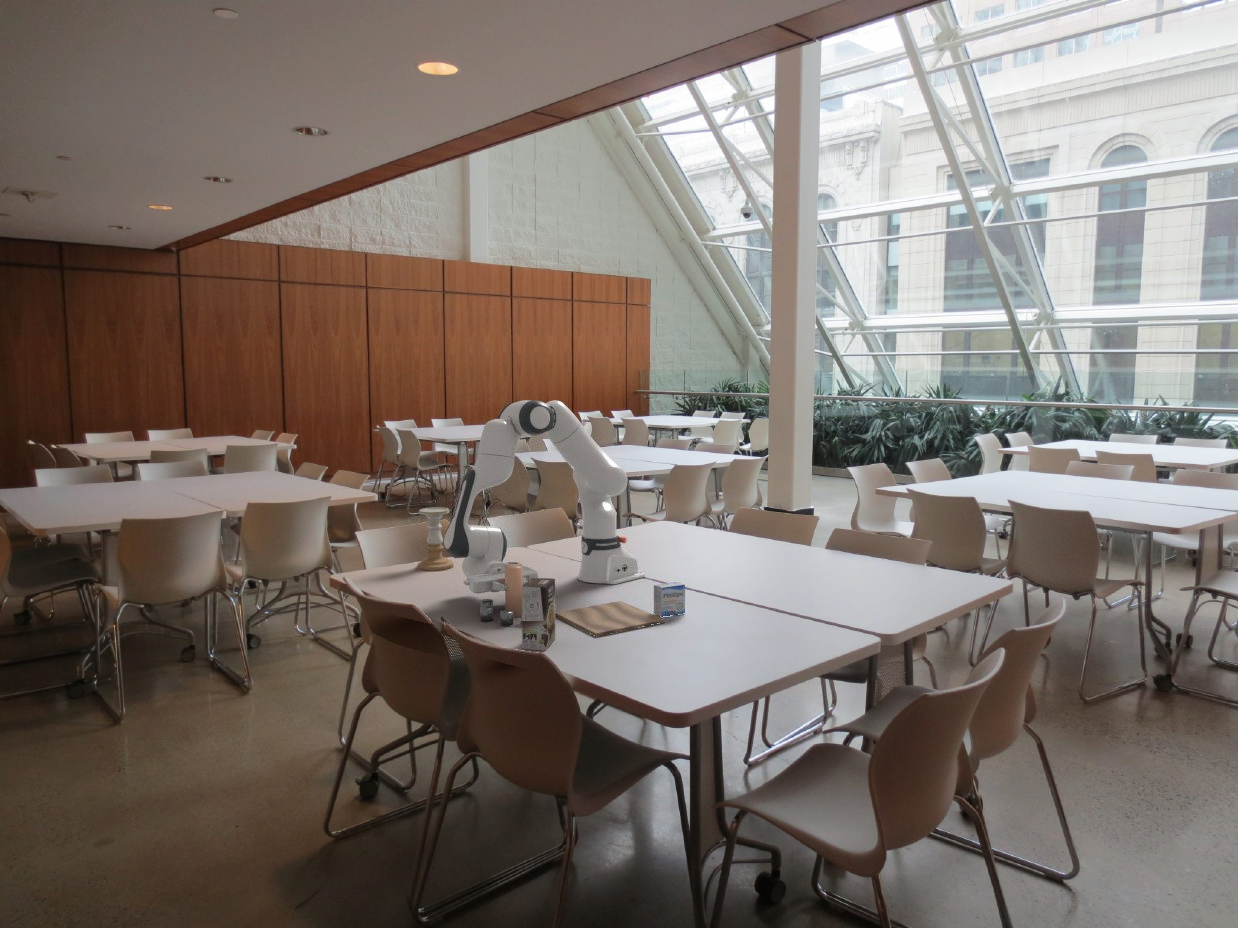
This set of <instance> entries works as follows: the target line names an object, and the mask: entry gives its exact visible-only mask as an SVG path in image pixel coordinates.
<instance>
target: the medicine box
mask: <svg viewBox="0 0 1238 928" xmlns="http://www.w3.org/2000/svg"><path fill="white" fill-rule="evenodd" d="M654 613H655V614H656V615H655V614H654ZM683 613H686V585H685V584H684V583H681V582H679V581H675V582H668V583H660V584H654V585H653V614H654V615H655V616H657V615H658V617H659V616H661V617H663V616H670V615H677V616H679V615H678V614H683ZM683 615H684V614H683ZM661 617H660V618H661Z"/></svg>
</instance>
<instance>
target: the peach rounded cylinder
mask: <svg viewBox="0 0 1238 928" xmlns="http://www.w3.org/2000/svg"><path fill="white" fill-rule="evenodd" d="M523 566H524V565H523V564H522V565H518V564H511V565H506V566H505V584H507V591H504V600H505V601H504V604H505V606H504V610H512V611H513V616H514V619H515V618H517V619H518V618H522V586H523Z"/></svg>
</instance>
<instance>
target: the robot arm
mask: <svg viewBox="0 0 1238 928" xmlns="http://www.w3.org/2000/svg"><path fill="white" fill-rule="evenodd" d="M542 434H545V435H546V436H547V437H548V439H549V441H550V442H551V443H552V445H553V446H554V447H555V449H556V450H557V452H558V453H559V454H560V455H561V457H562V458H563V459H564V461H565V462H566V463H568V464H569V465H570V467H572V468H573V470H572V479H573V481H574V483H575V484H576V488H577V491H578V496H579V501H580V506H581V515H582V536H581V542H580V543H581V544H580V545H581V562H580V563H581V564H580V568H579V573H578V576H577V579H578V580H579V581H581V582H585V583H592V584H607V585H618V584H621V583H625V582H628V581H629V582H630V581H633V580H634V581H635V580H638V579H641V578H645V577H646V574H645V572H644V571H643V570H641V569H639V565H638V560H637V558H636V557H635V556H634V555H633V554H632V553H630V552H629V551H628V550H627V549H625V548H624V547H623V546H622V544H626V543H627V542H628V539H627V537H626V536H618V535H617V511H616V508H615V507H614V504H613V502H612V497H617V496H620V495H621V494H623V493H624V491H625V490H626V489H627V486H628V475H627V473H626V471H625V470H624V469H623V468H622V467H620V466H619V465H618V464H617V463H616V462H615V461H614V459H613V458H611V456H610V455H608V453H606V451H605V450H604V449H603V448H602V447H600V445H599V444H598V443H597V442H596V441H595V440H594V439H593V438H592V436H591V435H590V434H589V432H588V431H587V430H586V428H585V427H584V426H583V424H582V423H581V421H580V420H579V419H578V417H577V416H576V415H575V413H573V411H572V410H571V409H570V408H569V407H568V406H567V405H566V404H564V402H562V401H560V400H555V399H554V400H549V401H548V402H546V403H545V402H544V401H540V400H536V399H532V400H531V399H530V400H529V399H527V400H519V401H515V402H514V401H513V402H510V403H508V404H506V405H504V407H503V408H502V409H501V410H500V412H499V414H498V416H497V418H495V419H491V420H489V421H487V422H486V423H485V424H484V426H483V429H482V432H481V437H480V441H479V445H478V446H479V447H478V451H477V457H476V462H475V463H474V465H473V467H472V469H470V470H468V471H466V473H465V474H464V476H463V479H462V481H461V485H460V487H459V491H458V493H457V497H456V502H455V505H454V508H453V511H452V516H451V519H450V522H449V524H448V526H447V529H446V531H445V534H444V537H443V547H444V548H443V549H444V550H445V551H446V552H447V553H448V554H449V555H450V556H451V557H452V558H454V559H460V558H461V559H463V560H462V564H461V568H462V573H463V574H464V576H465V578H467V579H465V580H463V584H464V585H466V586H468V589H469V590H470V591H471V592H472V593H473V594H484V593H489V592H490V593H499V592H505V591H507V584H505V566H506V565H511V564H518V565H522V566H523V585H524V584H525V583H526V582H528V581H529V580H530V579H531V578H539V572H538V571H537V570H536V569H534V568H531V567H529V566H527V565H523V563H522V562H520V561H519V562H517V561H509V562H507V561H504V559H505V557H506V554H507V551H508V541H507V540H508V539H507V538H506V535H505V533H504V532H503V530H502V529H501V528H500V527H499V526H493V525H492V526H491V525H475V524H469V519H470V516H471V512H472V508H473V505H474V503H475V502H474V501H475V498H476V497H477V496H478V495H479V493H480V492H482V491H484V490H487V489H489V488H493V487H498V486H500V485H502V484H504V483H505V482H507V481H508V479H509V478H510V477H511V476H512V474H513V472H514V467H515V458H516V457H515V456H516V447H517V444H518V441H519V440H520V438H521V437H524V438H525V437H530V436H531V437H532V436H539V435H542Z"/></svg>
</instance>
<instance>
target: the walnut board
mask: <svg viewBox="0 0 1238 928" xmlns="http://www.w3.org/2000/svg"><path fill="white" fill-rule="evenodd" d="M555 618H557V619H559V620H562V621H563V622H566V623H568V624H569V625H571V624H572V625H571V626H573V627H575V626H576V627H575V628H577V627H578V628H577V629H578V630H579V629H580V630H581V629H582V630H581V631H583V630H584V631H583V632H585V631H586V632H585V633H587V632H588V633H587V634H589V633H591V634H592V635H591V634H590V635H591V636H593V635H595V636H599V637H603V636H602V635H604V636H608V635H607V634H609V635H611V634H610V633H614V634H617V633H616V632H619V633H622V632H621V631H624V632H626V631H625V630H629V631H632V630H631V629H634V630H637V629H636V628H638V627H642V626H648V627H650V626H649V625H651V624H657V623H663V622H665V623H666V619H665V618H661V617H659V616H657V615H655V614H654V613H650V612H648V611H646V610H644V609H640V608H639V607H636V606H633V605H632V604H629V603H626V602H624V601H622V600H618V601H612V602H608V603H602V604H596V605H595V604H594V605H590V606H584V607H579V608H574V609H568V610H561V611H557V612H556V611H555ZM663 624H664V623H663ZM638 629H639V628H638ZM595 636H594V637H595Z"/></svg>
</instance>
